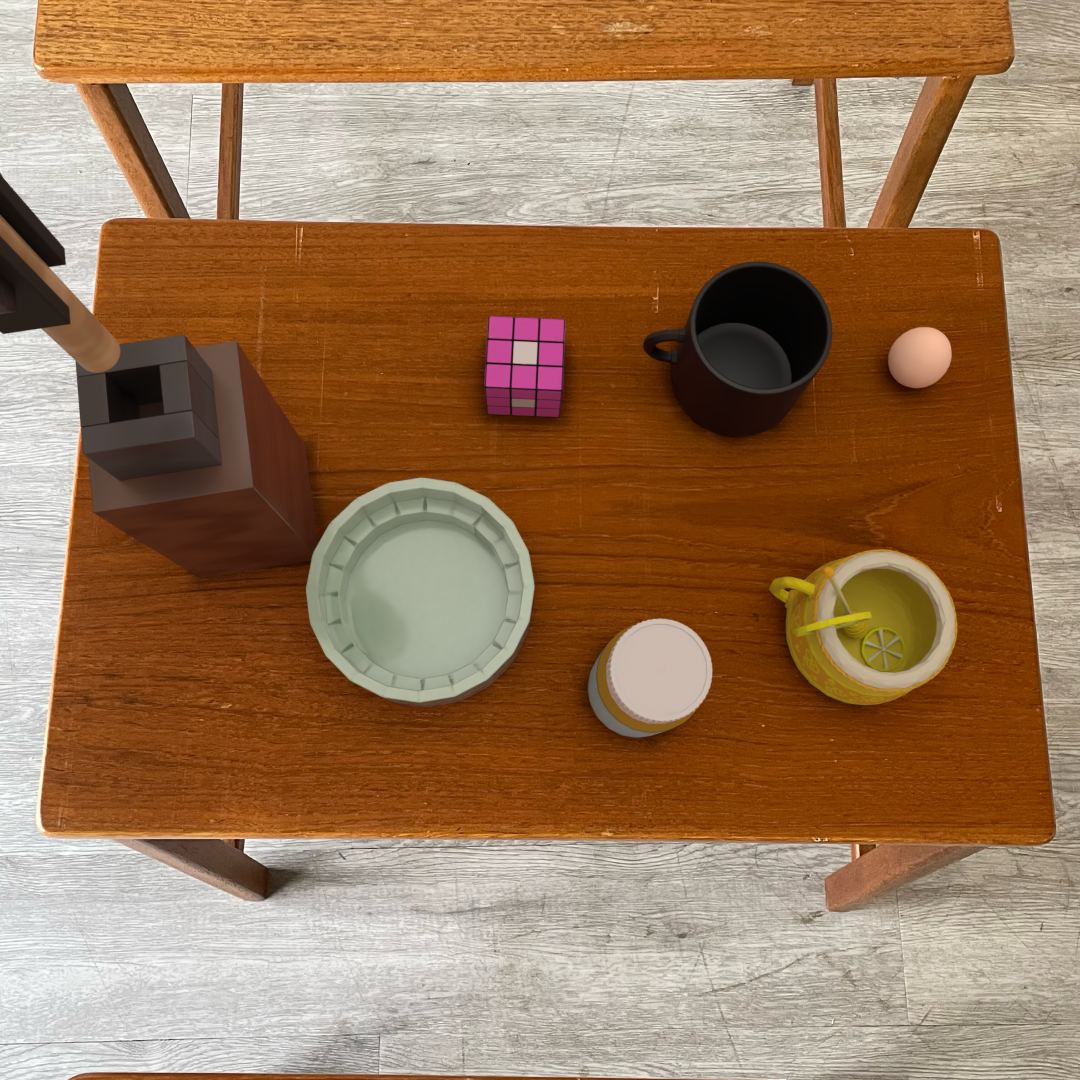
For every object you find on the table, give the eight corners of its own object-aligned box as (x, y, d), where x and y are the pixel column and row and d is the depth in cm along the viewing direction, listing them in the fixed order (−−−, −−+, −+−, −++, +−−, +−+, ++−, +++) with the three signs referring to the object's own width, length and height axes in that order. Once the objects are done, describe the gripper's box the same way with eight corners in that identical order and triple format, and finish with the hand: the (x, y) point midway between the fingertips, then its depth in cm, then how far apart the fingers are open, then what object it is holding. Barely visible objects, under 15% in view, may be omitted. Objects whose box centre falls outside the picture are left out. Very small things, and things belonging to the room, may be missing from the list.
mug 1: (640, 310, 83) (655, 250, 73) (799, 324, 83) (835, 266, 73) (631, 429, 81) (646, 384, 71) (795, 444, 81) (831, 400, 71)
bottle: (613, 625, 77) (634, 591, 63) (697, 669, 77) (739, 644, 62) (570, 709, 76) (582, 694, 61) (656, 755, 75) (688, 750, 61)
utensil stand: (200, 578, 77) (52, 488, 53) (188, 464, 79) (41, 327, 55) (320, 559, 78) (229, 461, 54) (305, 446, 80) (211, 302, 56)
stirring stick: (79, 376, 48) (-132, 185, 33) (76, 336, 49) (-134, 129, 33) (122, 369, 48) (-68, 176, 33) (119, 330, 49) (-70, 120, 33)
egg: (942, 390, 82) (973, 362, 76) (889, 403, 82) (916, 376, 76) (924, 339, 83) (952, 308, 77) (871, 352, 82) (896, 321, 77)
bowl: (337, 723, 75) (321, 719, 69) (311, 517, 79) (294, 497, 73) (548, 687, 76) (551, 680, 70) (514, 485, 80) (513, 462, 74)
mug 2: (945, 599, 78) (1020, 568, 66) (891, 732, 76) (959, 724, 64) (789, 526, 79) (836, 483, 67) (732, 655, 77) (769, 633, 65)
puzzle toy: (562, 349, 82) (565, 318, 76) (559, 417, 81) (562, 391, 75) (490, 345, 82) (488, 314, 76) (486, 414, 81) (484, 387, 75)
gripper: (-343, 34, 18) (142, 450, 41) (-334, -598, 21) (112, 116, 44) (-802, 94, 18) (-51, 480, 40) (-721, -559, 21) (-68, 141, 44)
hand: (33, 290), depth 42 cm, fingers closed on stirring stick, 2 cm apart
